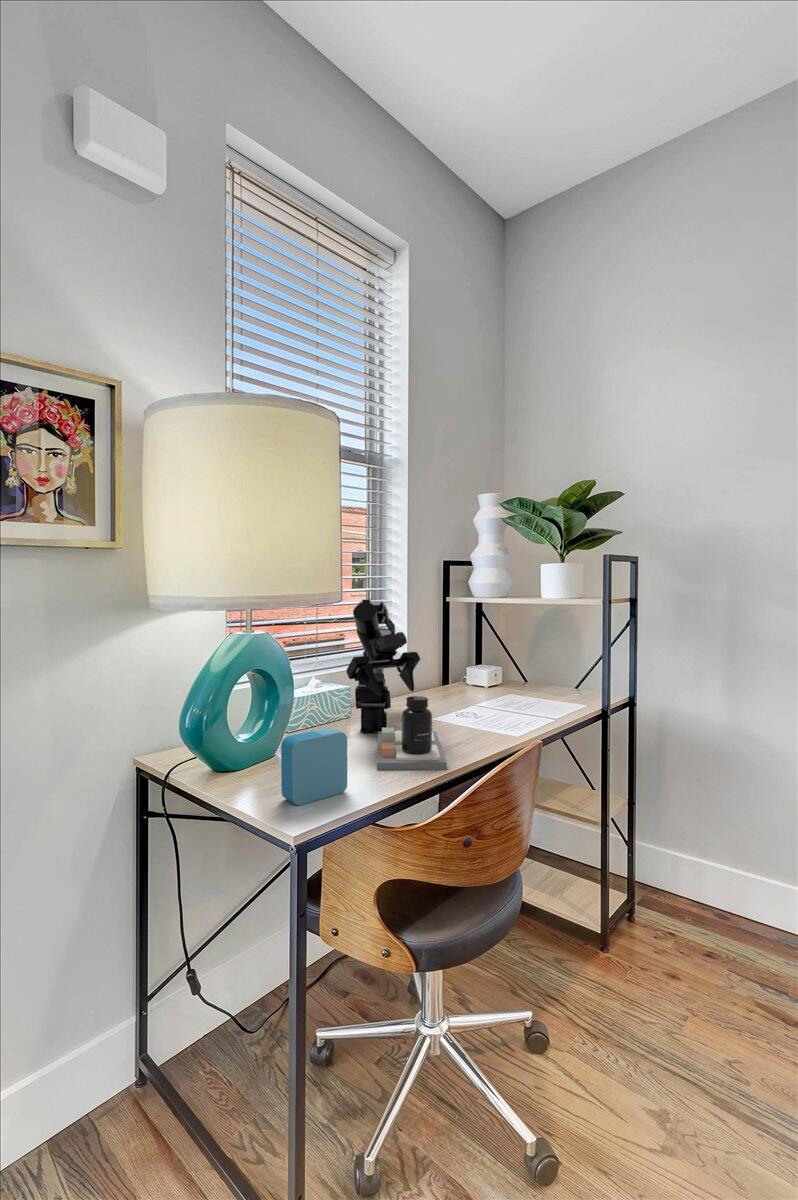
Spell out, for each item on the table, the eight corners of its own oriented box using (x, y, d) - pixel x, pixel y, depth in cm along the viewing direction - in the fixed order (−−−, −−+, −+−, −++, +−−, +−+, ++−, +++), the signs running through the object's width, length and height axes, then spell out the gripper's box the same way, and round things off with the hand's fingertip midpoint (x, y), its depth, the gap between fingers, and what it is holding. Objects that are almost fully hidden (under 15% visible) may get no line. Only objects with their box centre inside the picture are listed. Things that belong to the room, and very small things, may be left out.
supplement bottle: (423, 756, 132) (423, 702, 131) (396, 752, 135) (396, 699, 134) (437, 748, 138) (437, 696, 137) (410, 744, 141) (410, 693, 140)
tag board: (376, 769, 130) (376, 753, 129) (378, 737, 156) (378, 723, 155) (446, 769, 130) (446, 753, 130) (436, 736, 156) (436, 723, 156)
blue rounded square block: (334, 786, 120) (334, 726, 119) (348, 792, 116) (347, 730, 116) (281, 800, 112) (280, 736, 112) (293, 807, 109) (292, 742, 108)
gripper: (351, 623, 143) (376, 675, 135) (416, 619, 154) (442, 668, 145) (336, 652, 150) (358, 704, 142) (399, 647, 161) (423, 695, 152)
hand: (397, 692), depth 145 cm, fingers open, 9 cm apart
